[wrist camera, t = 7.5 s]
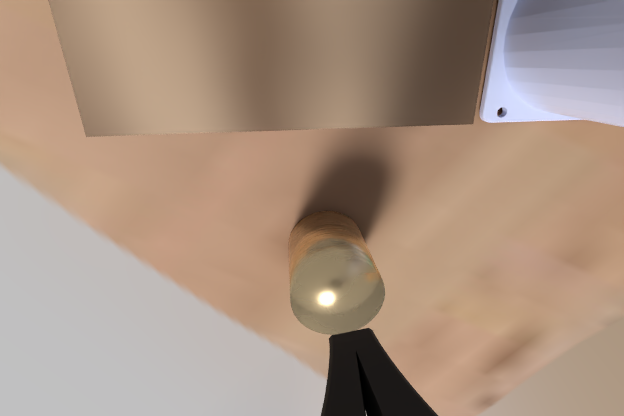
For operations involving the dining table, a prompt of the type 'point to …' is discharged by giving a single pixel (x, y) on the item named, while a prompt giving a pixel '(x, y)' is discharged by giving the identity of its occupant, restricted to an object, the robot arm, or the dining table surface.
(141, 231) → the dining table surface
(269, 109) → the box lid
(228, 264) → the dining table surface
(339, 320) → the cylinder
